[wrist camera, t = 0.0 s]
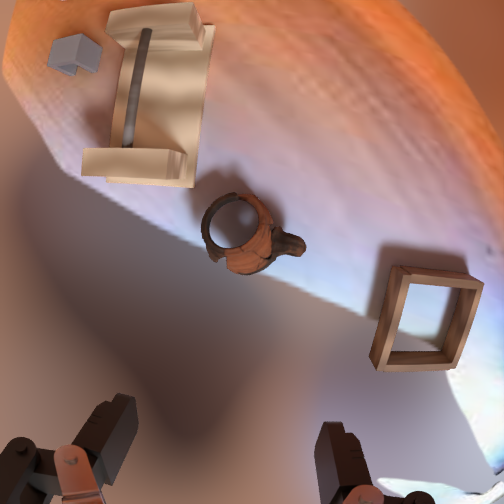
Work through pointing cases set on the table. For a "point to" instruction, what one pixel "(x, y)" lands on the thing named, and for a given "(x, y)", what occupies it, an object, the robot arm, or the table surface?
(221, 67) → the table surface
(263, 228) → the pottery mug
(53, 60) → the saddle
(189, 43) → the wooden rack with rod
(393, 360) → the open wooden frame
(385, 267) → the table surface
